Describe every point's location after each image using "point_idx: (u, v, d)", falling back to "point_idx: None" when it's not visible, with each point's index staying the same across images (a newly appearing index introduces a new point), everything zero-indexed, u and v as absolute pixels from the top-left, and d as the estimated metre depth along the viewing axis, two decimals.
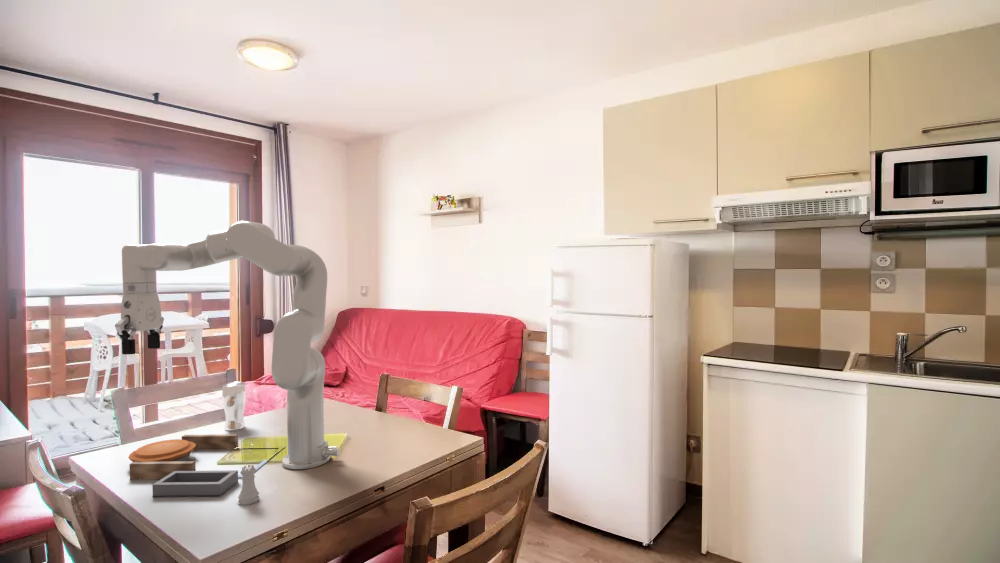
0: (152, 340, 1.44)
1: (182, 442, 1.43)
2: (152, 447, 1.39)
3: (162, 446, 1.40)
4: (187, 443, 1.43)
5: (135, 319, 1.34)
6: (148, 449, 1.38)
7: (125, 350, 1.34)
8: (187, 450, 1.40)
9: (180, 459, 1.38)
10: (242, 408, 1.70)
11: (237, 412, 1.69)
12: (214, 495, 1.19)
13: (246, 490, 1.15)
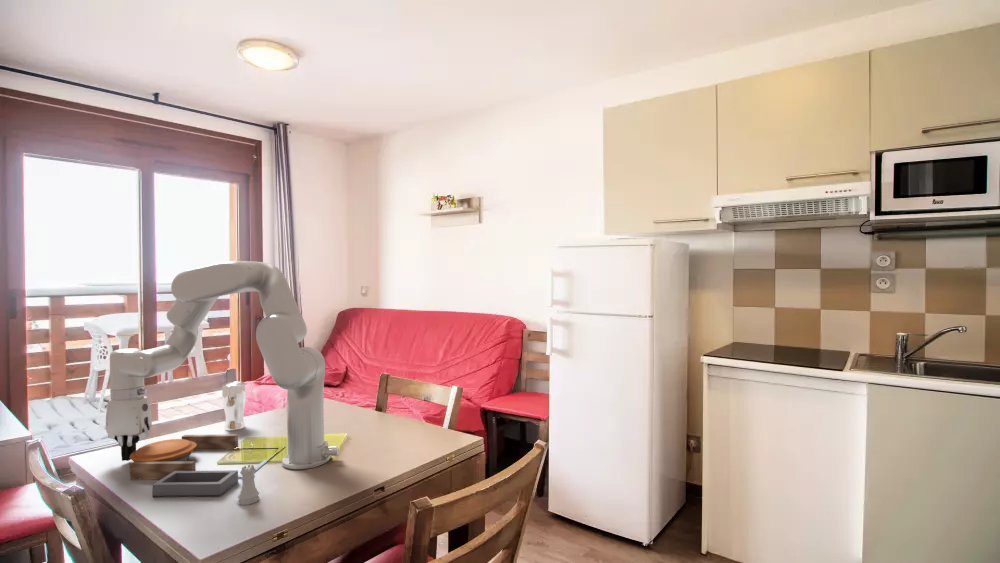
0: None
1: (183, 442, 1.43)
2: (153, 447, 1.39)
3: (163, 446, 1.40)
4: (188, 443, 1.43)
5: (151, 419, 1.42)
6: (149, 449, 1.38)
7: None
8: (188, 450, 1.40)
9: (181, 459, 1.38)
10: (242, 408, 1.70)
11: (237, 412, 1.69)
12: (214, 495, 1.19)
13: (246, 490, 1.15)
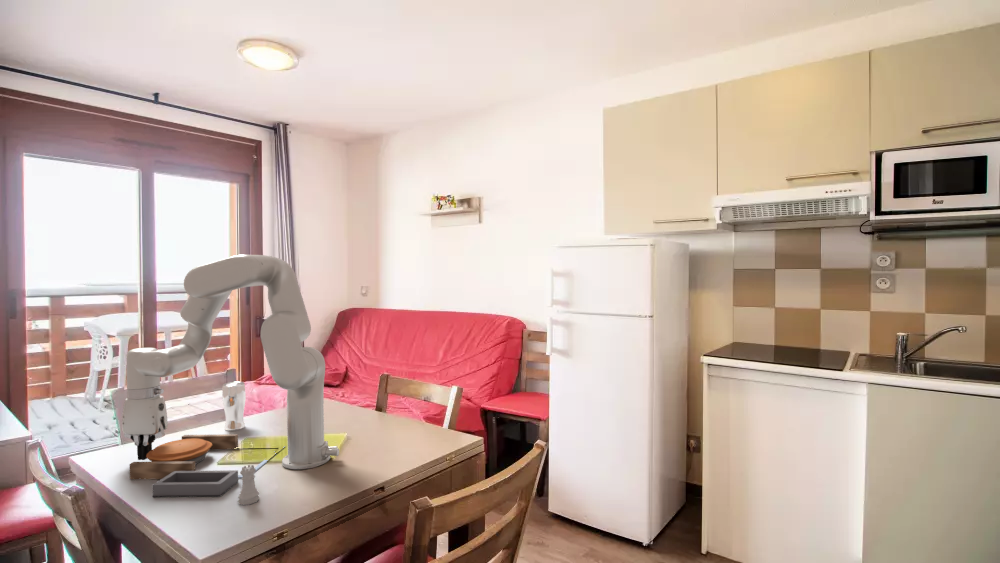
0: None
1: (198, 441, 1.44)
2: (169, 446, 1.39)
3: (179, 445, 1.40)
4: (204, 442, 1.43)
5: (166, 418, 1.42)
6: (165, 448, 1.38)
7: None
8: (205, 449, 1.40)
9: (198, 458, 1.39)
10: (242, 408, 1.70)
11: (237, 412, 1.69)
12: (214, 495, 1.19)
13: (246, 490, 1.15)
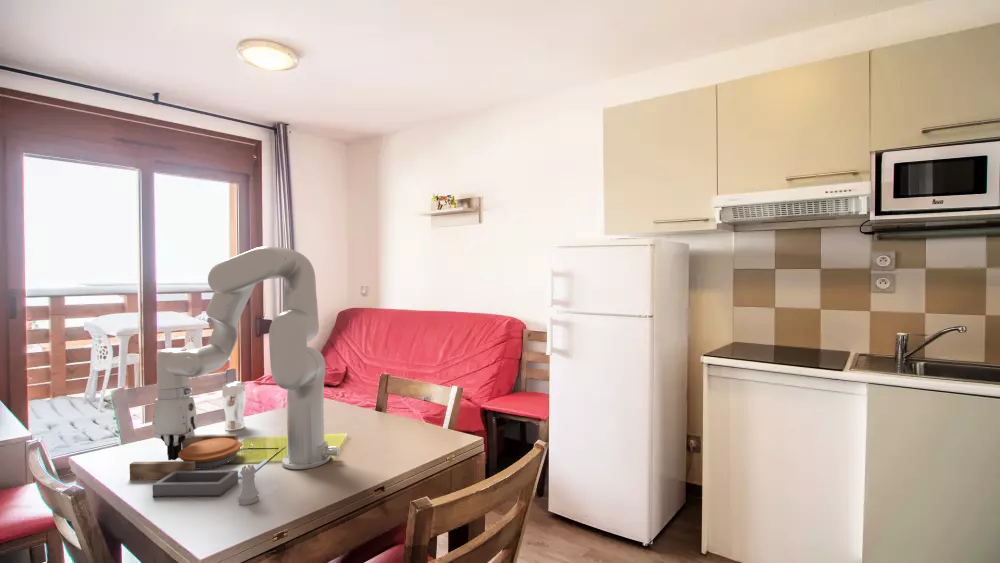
0: None
1: (228, 440, 1.44)
2: (200, 446, 1.40)
3: (210, 444, 1.40)
4: (234, 441, 1.44)
5: (196, 418, 1.42)
6: (197, 448, 1.38)
7: None
8: (236, 448, 1.41)
9: (230, 457, 1.39)
10: (242, 408, 1.70)
11: (237, 412, 1.69)
12: (214, 495, 1.19)
13: (246, 490, 1.15)
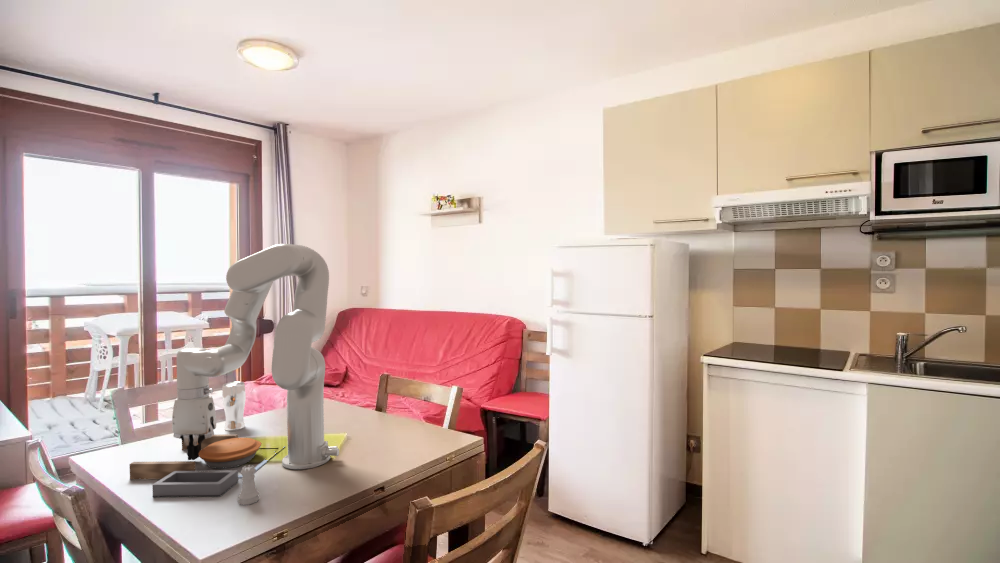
0: None
1: (247, 440, 1.44)
2: (220, 445, 1.40)
3: (230, 444, 1.40)
4: (253, 441, 1.44)
5: (215, 418, 1.42)
6: (217, 448, 1.38)
7: None
8: (256, 447, 1.41)
9: (250, 456, 1.40)
10: (242, 408, 1.70)
11: (237, 412, 1.69)
12: (214, 495, 1.19)
13: (246, 490, 1.15)
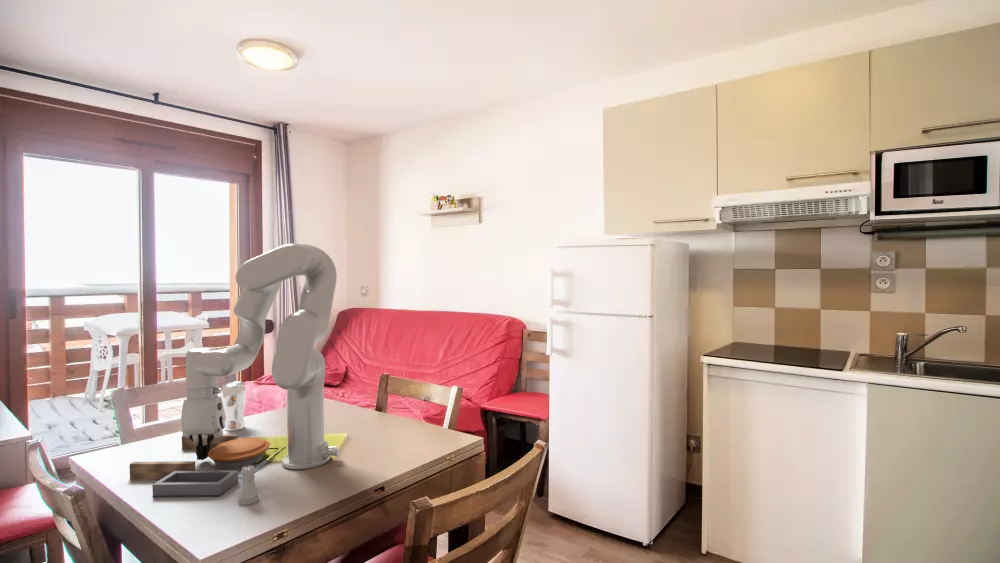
0: None
1: (256, 440, 1.44)
2: (229, 445, 1.40)
3: (239, 444, 1.40)
4: (262, 440, 1.44)
5: (224, 418, 1.42)
6: (227, 448, 1.38)
7: None
8: (265, 447, 1.41)
9: (260, 456, 1.40)
10: (242, 408, 1.70)
11: (237, 412, 1.69)
12: (214, 495, 1.19)
13: (246, 490, 1.15)
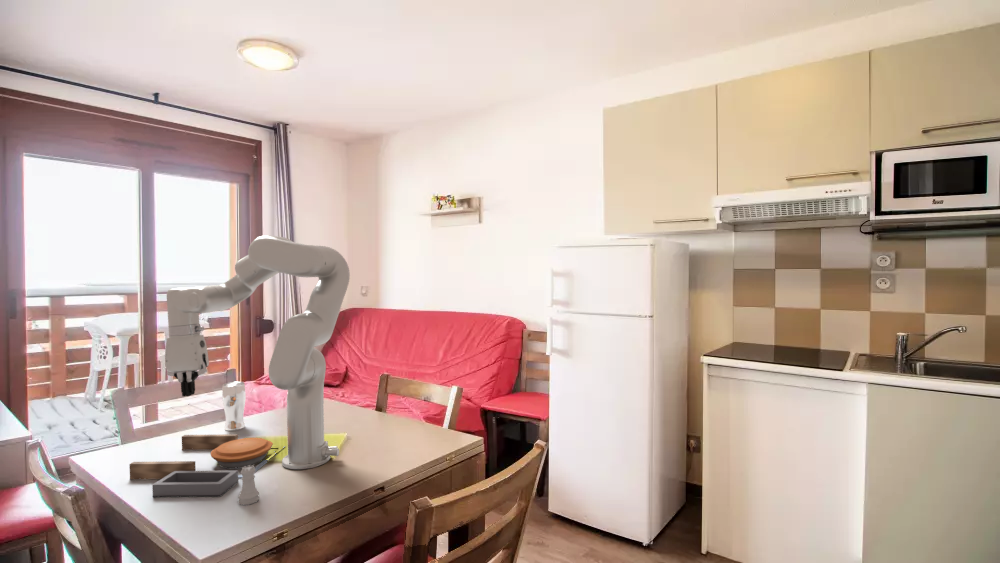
0: None
1: (258, 440, 1.44)
2: (232, 445, 1.40)
3: (242, 444, 1.40)
4: (264, 440, 1.44)
5: (207, 356, 1.46)
6: (229, 448, 1.38)
7: (193, 391, 1.44)
8: (268, 447, 1.41)
9: (262, 456, 1.40)
10: (242, 408, 1.70)
11: (237, 412, 1.69)
12: (214, 495, 1.19)
13: (246, 490, 1.15)
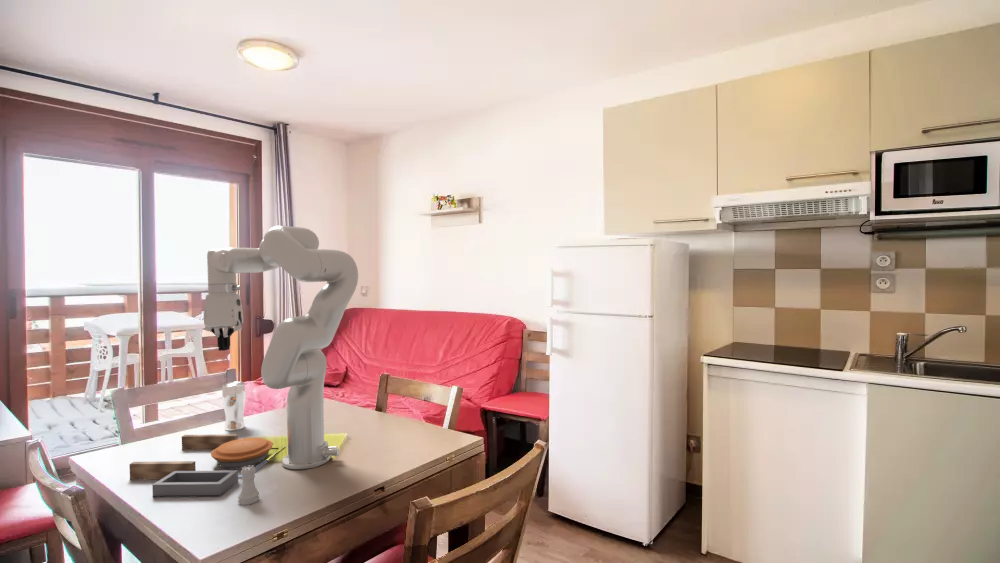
0: None
1: (259, 440, 1.44)
2: (232, 445, 1.40)
3: (242, 444, 1.40)
4: (265, 440, 1.44)
5: (242, 314, 1.55)
6: (230, 448, 1.38)
7: (228, 346, 1.53)
8: (268, 447, 1.41)
9: (263, 456, 1.40)
10: (242, 408, 1.70)
11: (237, 412, 1.69)
12: (214, 495, 1.19)
13: (246, 490, 1.15)
